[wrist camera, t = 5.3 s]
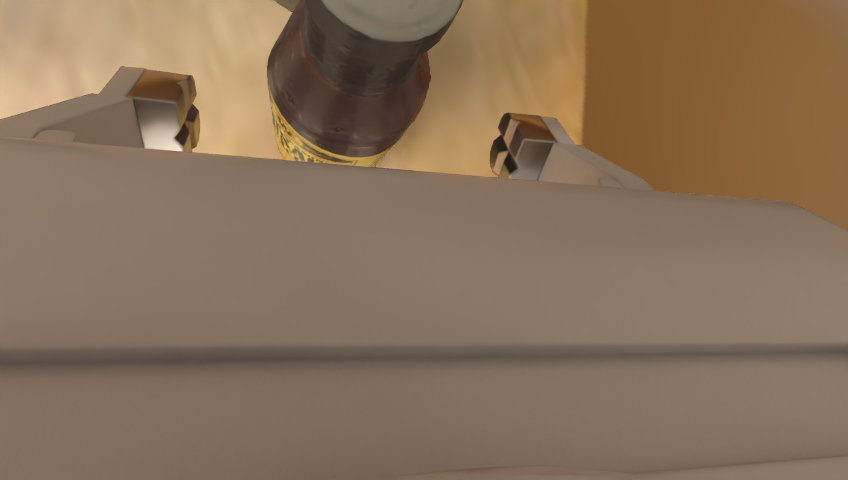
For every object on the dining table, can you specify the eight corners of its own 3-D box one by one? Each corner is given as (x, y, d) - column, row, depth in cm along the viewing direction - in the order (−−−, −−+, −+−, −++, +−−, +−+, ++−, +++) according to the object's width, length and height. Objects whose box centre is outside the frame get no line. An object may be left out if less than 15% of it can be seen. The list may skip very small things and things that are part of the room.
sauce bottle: (256, 127, 29) (159, -137, 10) (340, 76, 30) (399, -245, 11) (320, 214, 30) (348, 128, 10) (399, 160, 31) (551, -5, 12)
